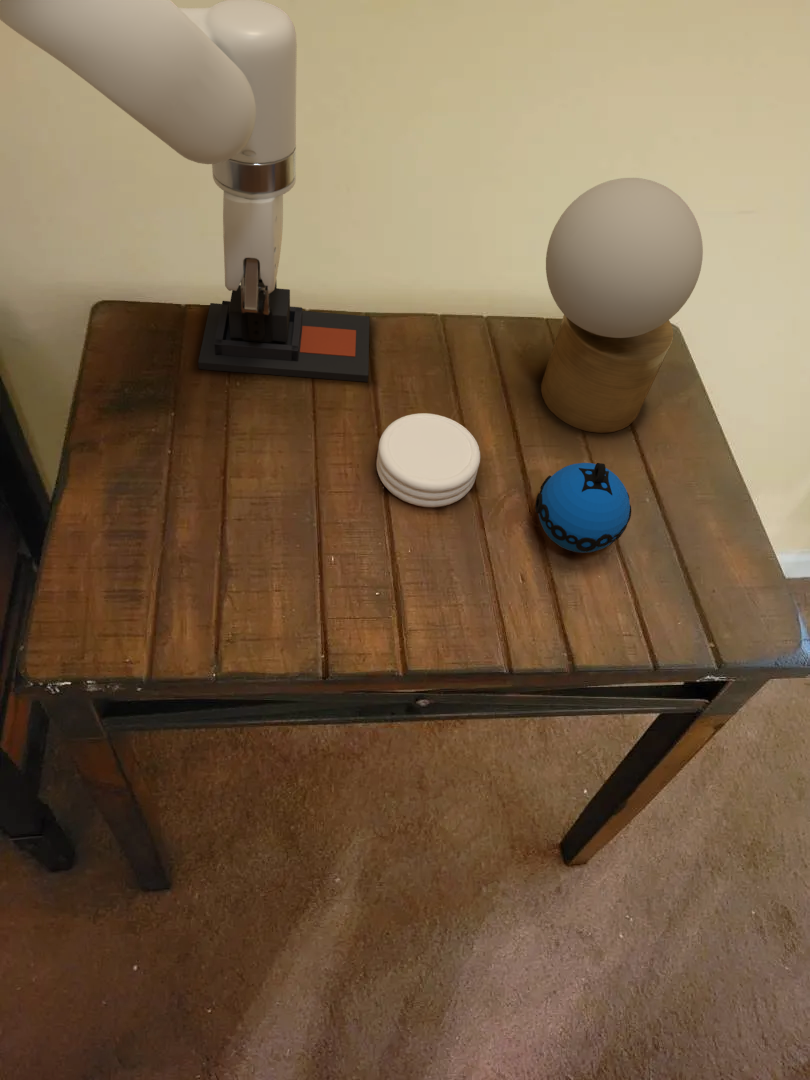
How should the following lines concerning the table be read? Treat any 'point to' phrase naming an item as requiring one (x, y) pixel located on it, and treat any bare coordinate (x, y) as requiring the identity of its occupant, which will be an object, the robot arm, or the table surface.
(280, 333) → the dark grey block
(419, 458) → the coaster
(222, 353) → the base pad
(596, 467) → the ornament
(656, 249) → the lamp
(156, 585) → the table surface
